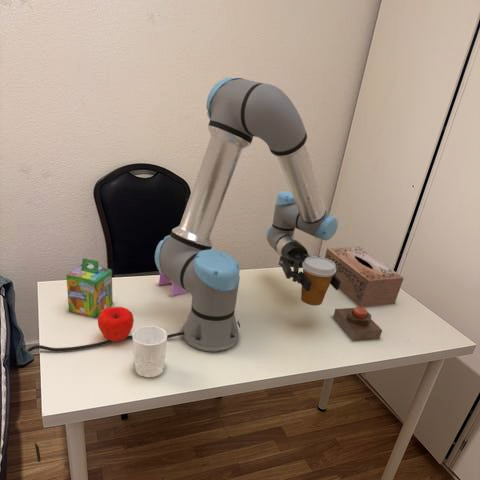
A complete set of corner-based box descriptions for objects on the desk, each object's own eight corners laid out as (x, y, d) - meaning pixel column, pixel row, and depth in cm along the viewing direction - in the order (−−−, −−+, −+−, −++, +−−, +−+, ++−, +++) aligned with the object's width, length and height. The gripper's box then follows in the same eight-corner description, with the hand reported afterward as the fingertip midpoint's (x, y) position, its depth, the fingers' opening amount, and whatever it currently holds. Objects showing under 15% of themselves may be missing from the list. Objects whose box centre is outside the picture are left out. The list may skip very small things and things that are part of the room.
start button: (356, 319, 129) (358, 314, 128) (350, 312, 132) (351, 307, 131) (368, 318, 130) (370, 313, 129) (361, 311, 134) (363, 306, 133)
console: (352, 341, 127) (357, 326, 125) (332, 317, 138) (336, 303, 135) (379, 339, 130) (384, 325, 127) (357, 315, 140) (361, 302, 138)
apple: (112, 352, 110) (110, 326, 106) (91, 336, 114) (89, 311, 110) (140, 339, 116) (140, 314, 112) (120, 325, 120) (119, 300, 116)
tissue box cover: (394, 303, 151) (403, 277, 145) (360, 307, 145) (368, 280, 140) (352, 270, 170) (359, 246, 165) (321, 272, 165) (327, 248, 160)
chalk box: (68, 311, 123) (63, 264, 115) (85, 297, 130) (81, 251, 123) (98, 319, 121) (95, 271, 114) (114, 303, 129) (112, 258, 121)
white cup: (171, 363, 109) (172, 330, 103) (157, 382, 102) (158, 348, 97) (142, 355, 110) (142, 322, 105) (127, 374, 103) (126, 339, 98)
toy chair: (176, 279, 147) (178, 237, 139) (190, 291, 141) (193, 248, 133) (154, 285, 142) (155, 241, 134) (168, 297, 136) (170, 252, 128)
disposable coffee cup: (326, 294, 131) (335, 258, 125) (328, 310, 123) (339, 272, 117) (294, 290, 131) (302, 253, 125) (295, 305, 123) (303, 267, 117)
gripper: (319, 262, 143) (354, 296, 125) (259, 263, 136) (286, 299, 118) (324, 240, 139) (360, 272, 121) (262, 241, 132) (291, 275, 114)
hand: (323, 286), depth 120 cm, fingers closed on disposable coffee cup, 8 cm apart
